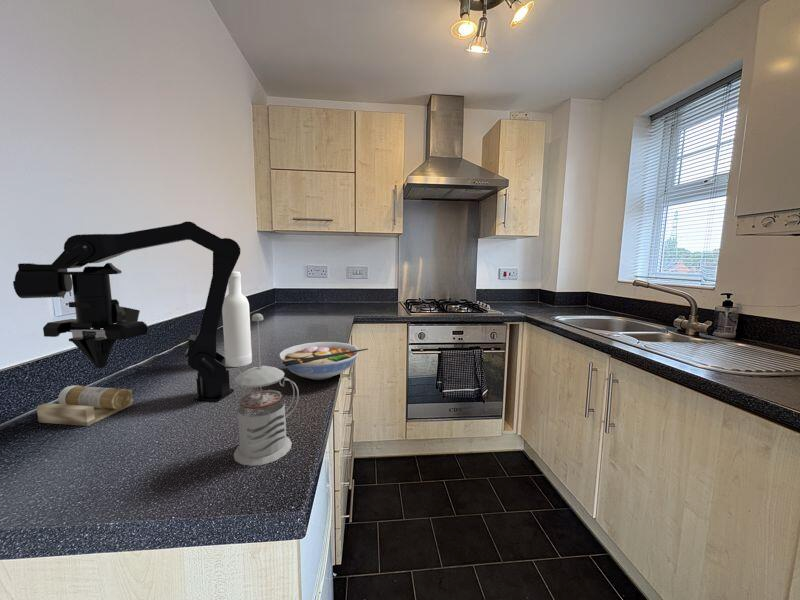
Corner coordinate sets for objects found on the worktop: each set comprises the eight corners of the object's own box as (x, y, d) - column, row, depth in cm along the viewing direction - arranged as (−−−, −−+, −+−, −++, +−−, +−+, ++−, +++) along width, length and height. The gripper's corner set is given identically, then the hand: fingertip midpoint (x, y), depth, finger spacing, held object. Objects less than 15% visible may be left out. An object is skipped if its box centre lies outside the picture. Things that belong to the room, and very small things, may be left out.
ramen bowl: (341, 358, 112) (341, 335, 111) (377, 378, 94) (377, 351, 93) (266, 372, 97) (265, 346, 96) (290, 399, 79) (289, 367, 78)
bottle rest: (133, 404, 76) (131, 390, 75) (87, 426, 66) (85, 409, 65) (89, 401, 77) (88, 387, 76) (38, 422, 67) (36, 406, 67)
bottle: (251, 365, 103) (246, 272, 99) (223, 368, 100) (217, 272, 96) (252, 358, 111) (248, 271, 107) (226, 361, 108) (221, 271, 104)
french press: (225, 447, 59) (217, 313, 56) (286, 425, 67) (282, 306, 64) (245, 473, 52) (236, 321, 49) (310, 445, 60) (307, 312, 57)
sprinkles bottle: (135, 399, 74) (82, 396, 76) (127, 384, 72) (74, 381, 74) (117, 414, 70) (62, 410, 72) (109, 398, 68) (52, 394, 70)
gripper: (165, 293, 74) (171, 358, 76) (93, 291, 76) (100, 355, 78) (118, 299, 63) (126, 375, 65) (36, 296, 65) (46, 370, 67)
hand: (101, 367), depth 69 cm, fingers closed
